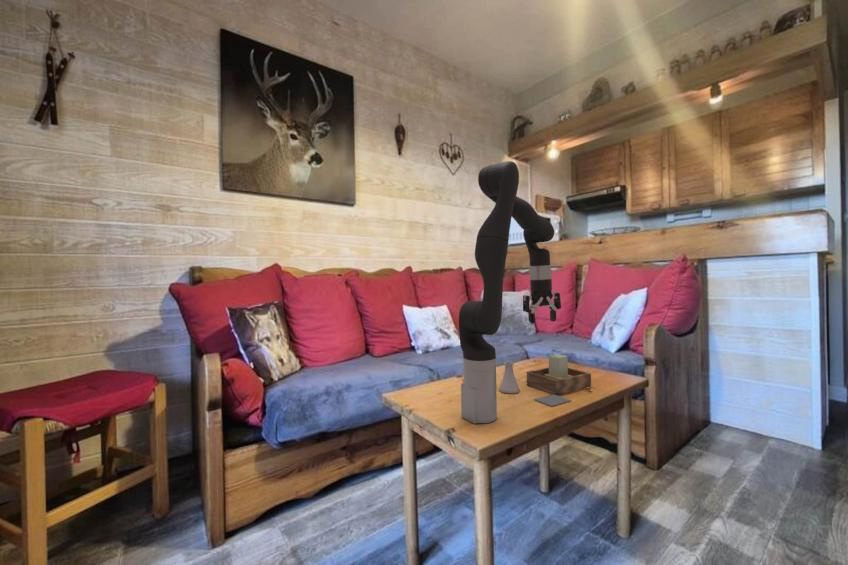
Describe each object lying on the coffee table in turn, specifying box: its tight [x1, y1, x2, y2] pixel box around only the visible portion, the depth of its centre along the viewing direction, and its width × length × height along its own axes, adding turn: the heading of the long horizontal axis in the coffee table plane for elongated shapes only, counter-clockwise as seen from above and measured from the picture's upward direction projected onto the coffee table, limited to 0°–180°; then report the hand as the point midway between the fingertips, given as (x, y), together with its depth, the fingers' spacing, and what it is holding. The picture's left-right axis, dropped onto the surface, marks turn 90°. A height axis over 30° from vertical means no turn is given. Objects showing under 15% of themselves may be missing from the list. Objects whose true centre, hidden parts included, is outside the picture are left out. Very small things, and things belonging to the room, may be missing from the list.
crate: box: [526, 366, 592, 397], centre depth 129 cm, size 17×14×5 cm
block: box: [548, 353, 569, 378], centre depth 129 cm, size 4×4×7 cm
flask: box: [498, 361, 521, 394], centre depth 125 cm, size 7×7×10 cm
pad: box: [534, 394, 572, 408], centre depth 114 cm, size 9×7×1 cm
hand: (542, 322), depth 131 cm, fingers open, 8 cm apart
